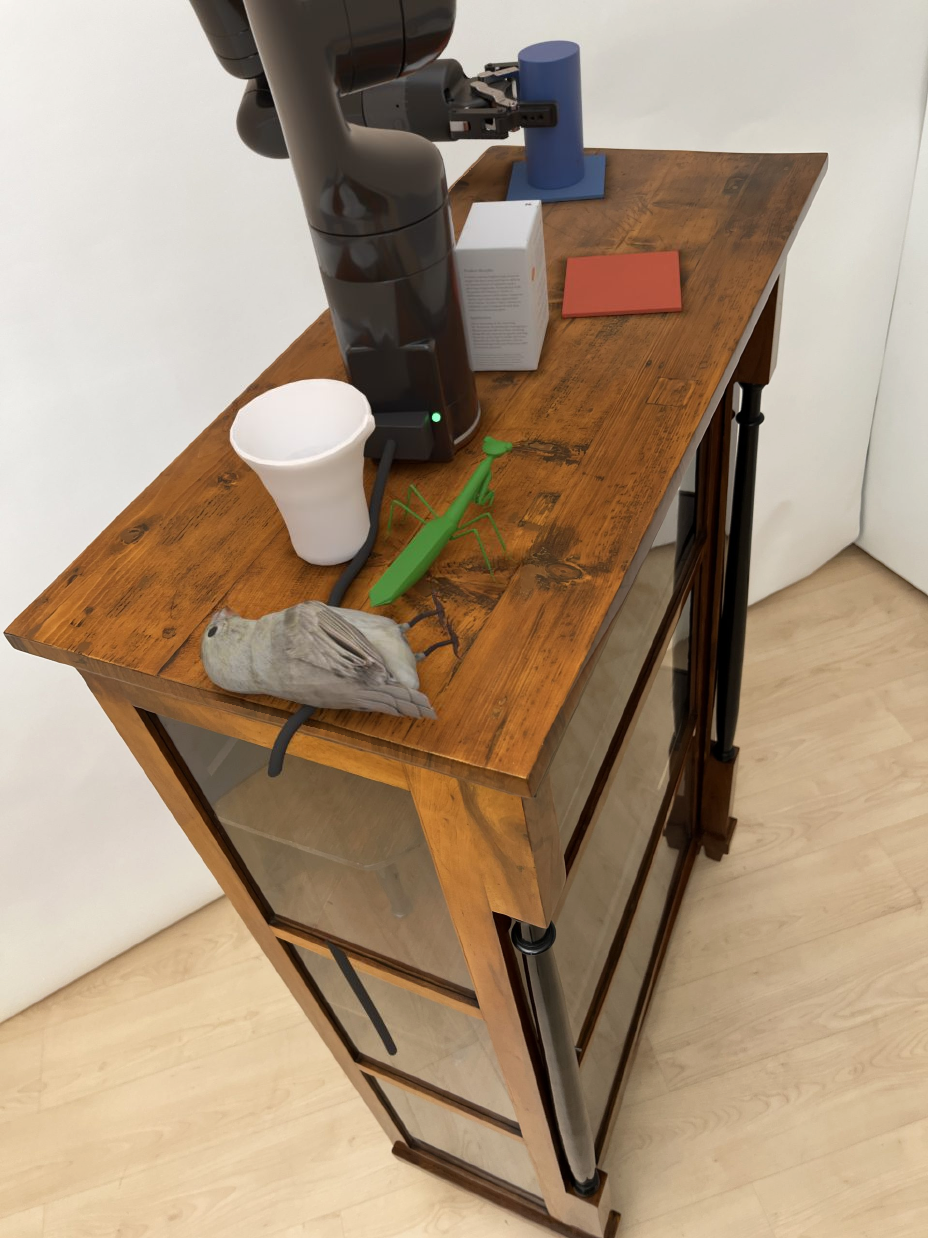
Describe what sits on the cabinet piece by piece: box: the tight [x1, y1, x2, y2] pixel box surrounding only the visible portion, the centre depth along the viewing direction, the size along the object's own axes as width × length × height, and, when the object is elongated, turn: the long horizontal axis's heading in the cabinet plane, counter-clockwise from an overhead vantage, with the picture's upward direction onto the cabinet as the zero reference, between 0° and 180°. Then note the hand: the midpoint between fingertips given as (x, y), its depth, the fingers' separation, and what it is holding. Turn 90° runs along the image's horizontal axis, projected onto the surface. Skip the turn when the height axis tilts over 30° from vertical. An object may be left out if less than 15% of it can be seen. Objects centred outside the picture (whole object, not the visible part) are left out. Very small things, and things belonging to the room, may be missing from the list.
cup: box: [229, 378, 375, 566], centre depth 61 cm, size 9×9×10 cm
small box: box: [456, 200, 550, 372], centre depth 75 cm, size 8×6×10 cm
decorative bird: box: [200, 582, 463, 721], centre depth 54 cm, size 5×16×7 cm
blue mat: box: [505, 153, 607, 204], centre depth 100 cm, size 10×10×1 cm
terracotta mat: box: [561, 250, 683, 319], centre depth 83 cm, size 10×10×1 cm
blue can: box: [517, 39, 585, 189], centre depth 96 cm, size 6×6×12 cm
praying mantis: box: [368, 435, 516, 608], centre depth 61 cm, size 9×15×4 cm, turn 146°
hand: (568, 96), depth 94 cm, fingers open, 8 cm apart
